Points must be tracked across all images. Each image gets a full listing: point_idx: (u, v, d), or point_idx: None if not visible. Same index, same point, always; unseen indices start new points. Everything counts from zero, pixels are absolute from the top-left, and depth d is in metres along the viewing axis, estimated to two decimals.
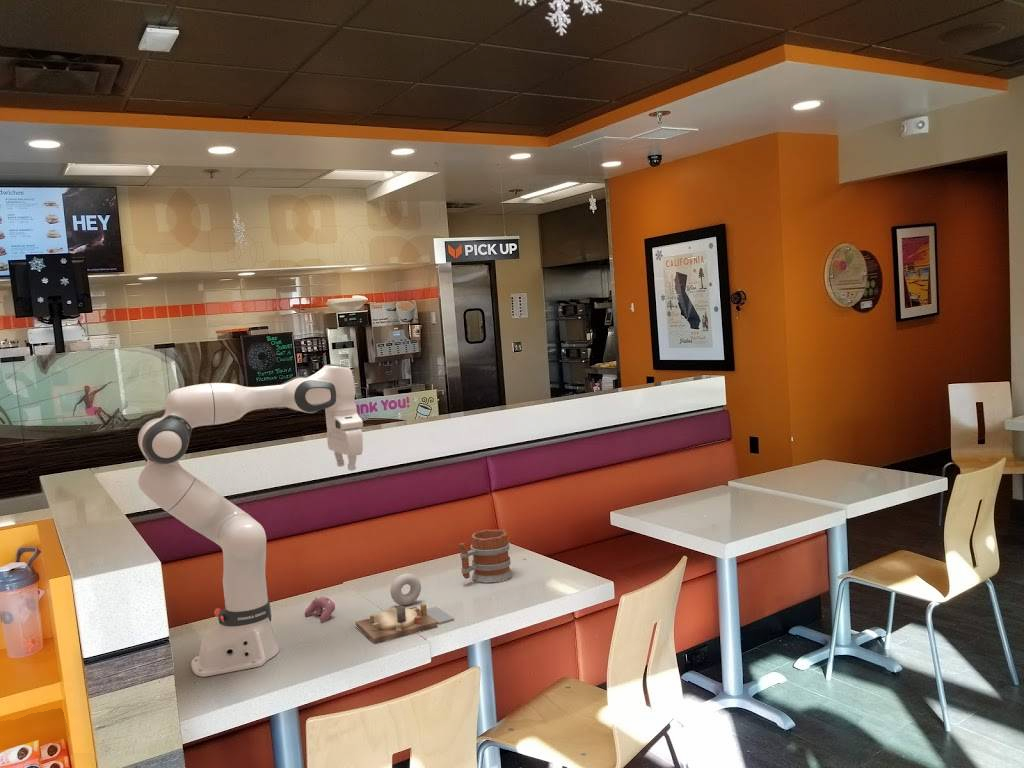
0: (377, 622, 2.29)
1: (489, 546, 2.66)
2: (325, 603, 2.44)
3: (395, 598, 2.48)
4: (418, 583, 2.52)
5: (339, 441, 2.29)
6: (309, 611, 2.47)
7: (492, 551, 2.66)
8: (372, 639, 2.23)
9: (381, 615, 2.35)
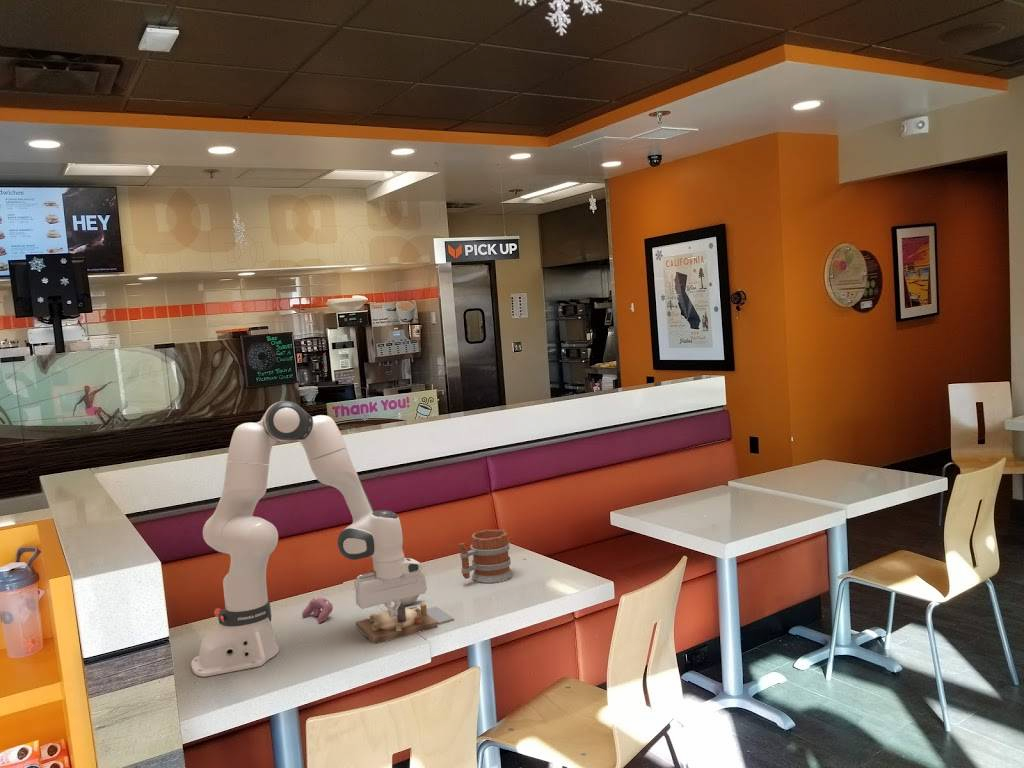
0: (377, 622, 2.29)
1: (489, 546, 2.66)
2: (323, 604, 2.44)
3: None
4: None
5: (397, 588, 2.26)
6: (307, 612, 2.47)
7: (492, 551, 2.66)
8: (372, 639, 2.23)
9: (381, 615, 2.35)
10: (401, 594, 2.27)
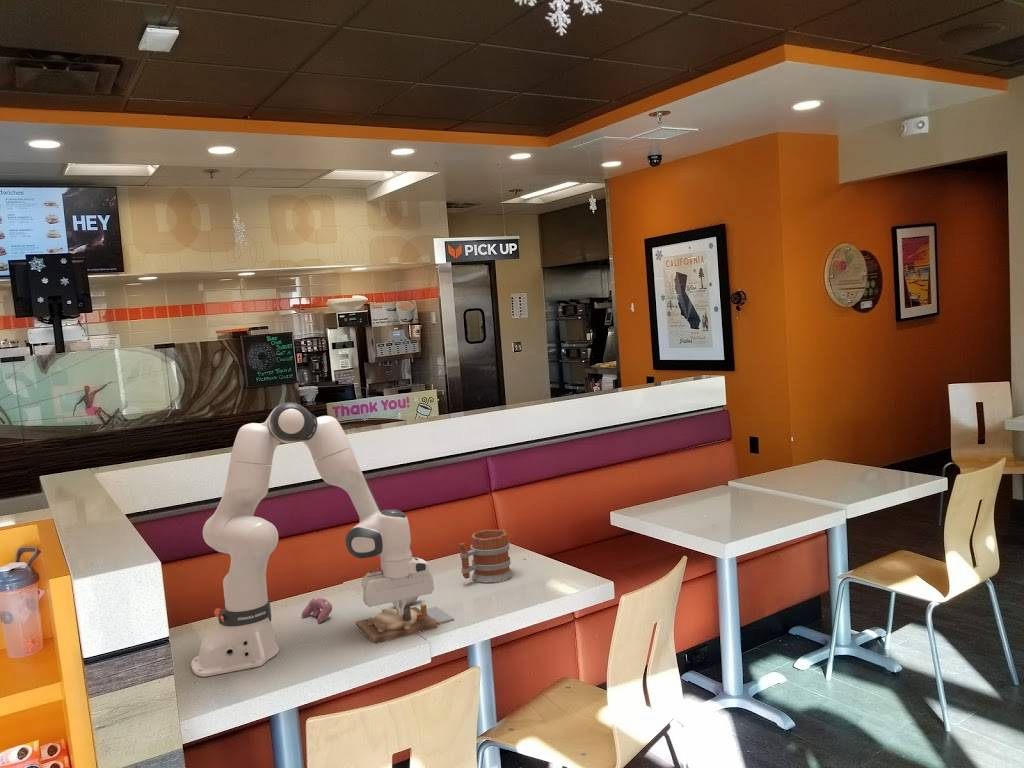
0: (382, 623, 2.28)
1: (489, 546, 2.66)
2: (322, 604, 2.43)
3: None
4: None
5: (404, 587, 2.27)
6: (306, 612, 2.47)
7: (492, 551, 2.66)
8: (372, 639, 2.23)
9: (379, 617, 2.33)
10: (408, 593, 2.28)
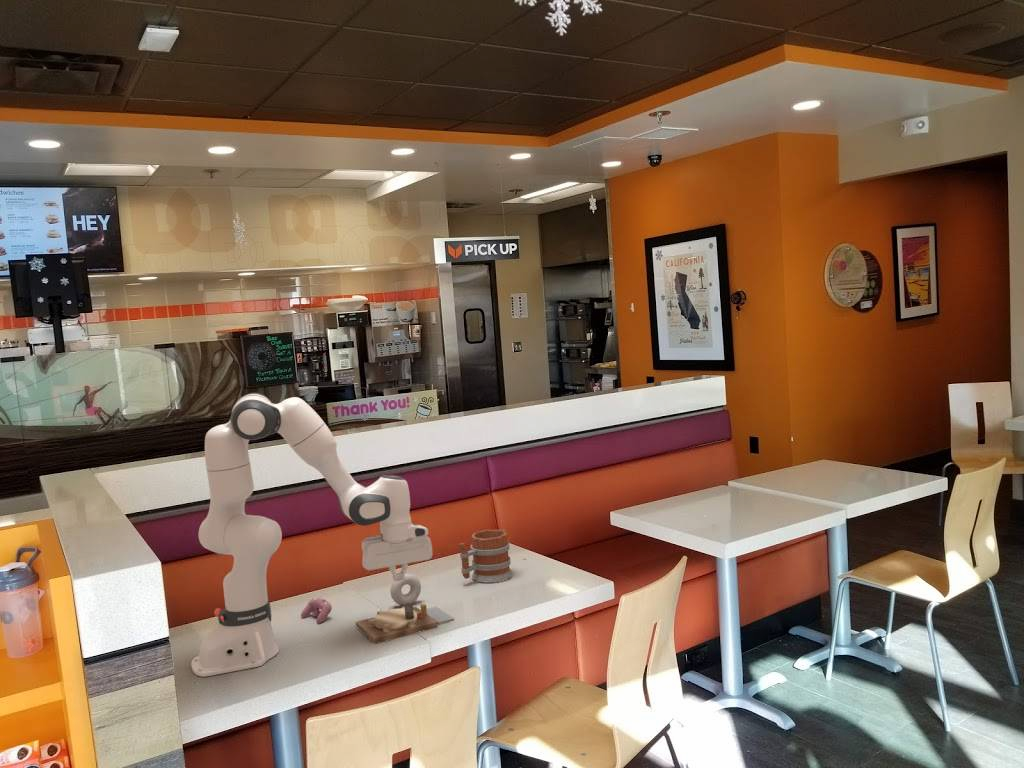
0: (386, 624, 2.27)
1: (489, 546, 2.66)
2: (322, 604, 2.43)
3: (395, 598, 2.48)
4: (418, 583, 2.52)
5: (403, 552, 2.28)
6: (305, 612, 2.46)
7: (492, 551, 2.66)
8: (372, 639, 2.23)
9: (379, 618, 2.32)
10: (407, 558, 2.29)
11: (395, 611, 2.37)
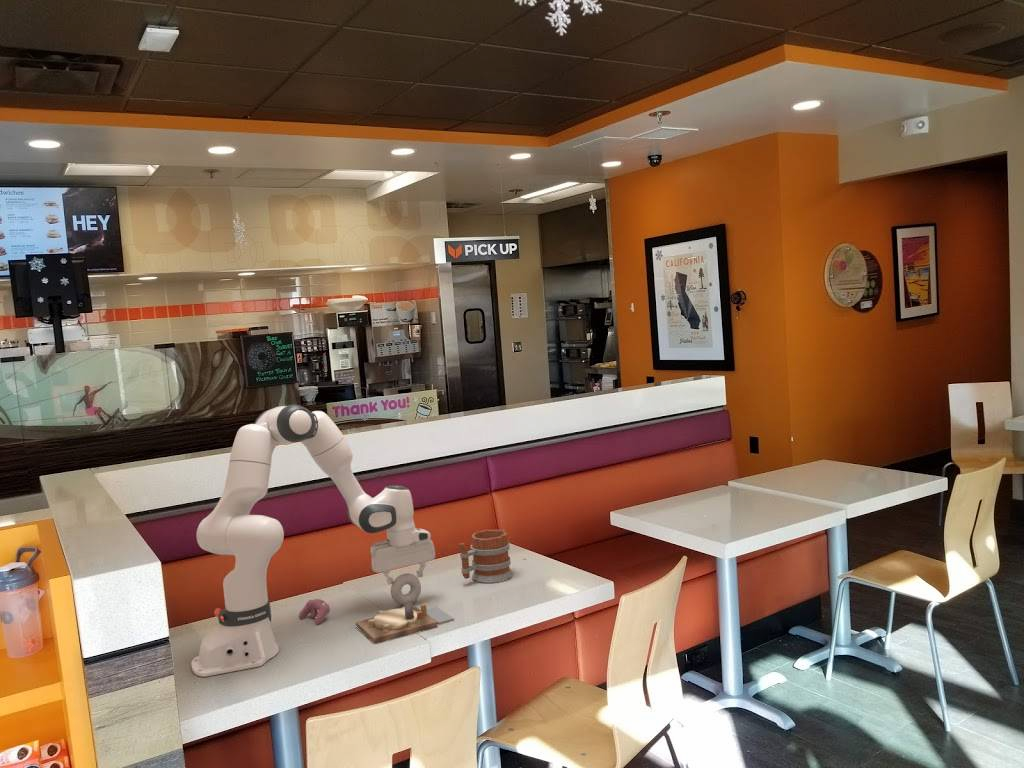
0: (386, 624, 2.27)
1: (489, 546, 2.66)
2: (319, 605, 2.43)
3: (395, 598, 2.48)
4: (418, 583, 2.52)
5: (408, 555, 2.50)
6: (303, 613, 2.46)
7: (492, 551, 2.66)
8: (372, 639, 2.23)
9: (379, 618, 2.32)
10: (412, 560, 2.50)
11: (395, 611, 2.37)
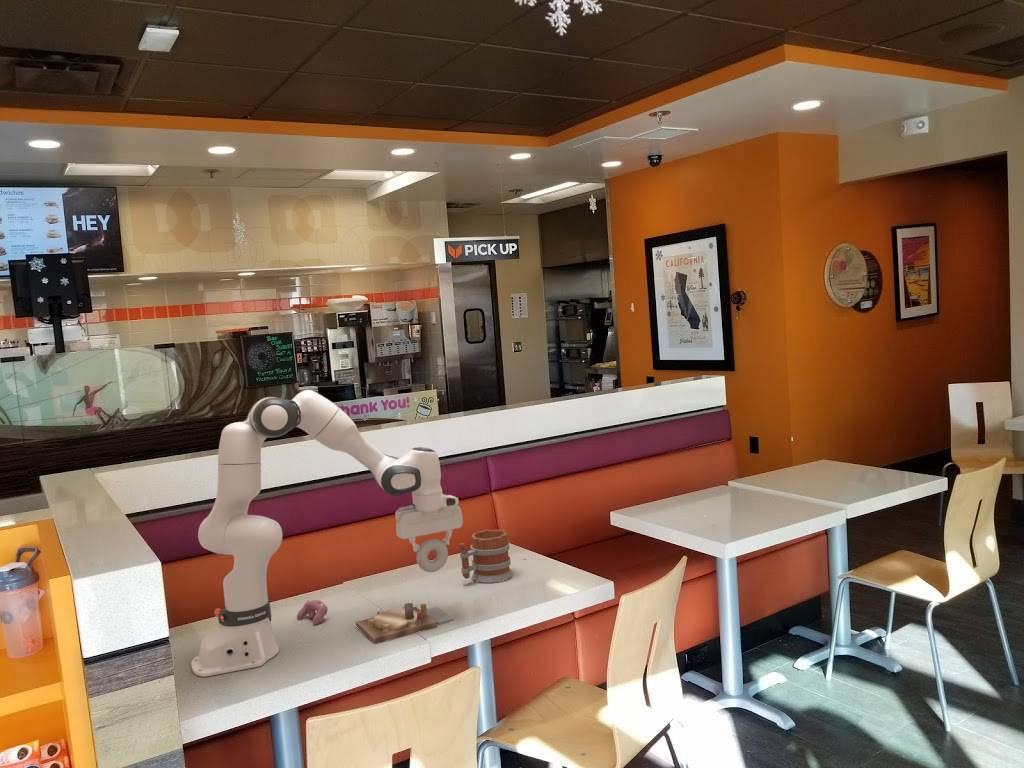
0: (386, 624, 2.27)
1: (489, 546, 2.66)
2: (317, 606, 2.42)
3: (421, 564, 2.35)
4: (445, 549, 2.39)
5: (435, 521, 2.37)
6: (301, 614, 2.45)
7: (492, 551, 2.66)
8: (372, 639, 2.23)
9: (379, 618, 2.32)
10: (439, 527, 2.37)
11: (395, 611, 2.37)
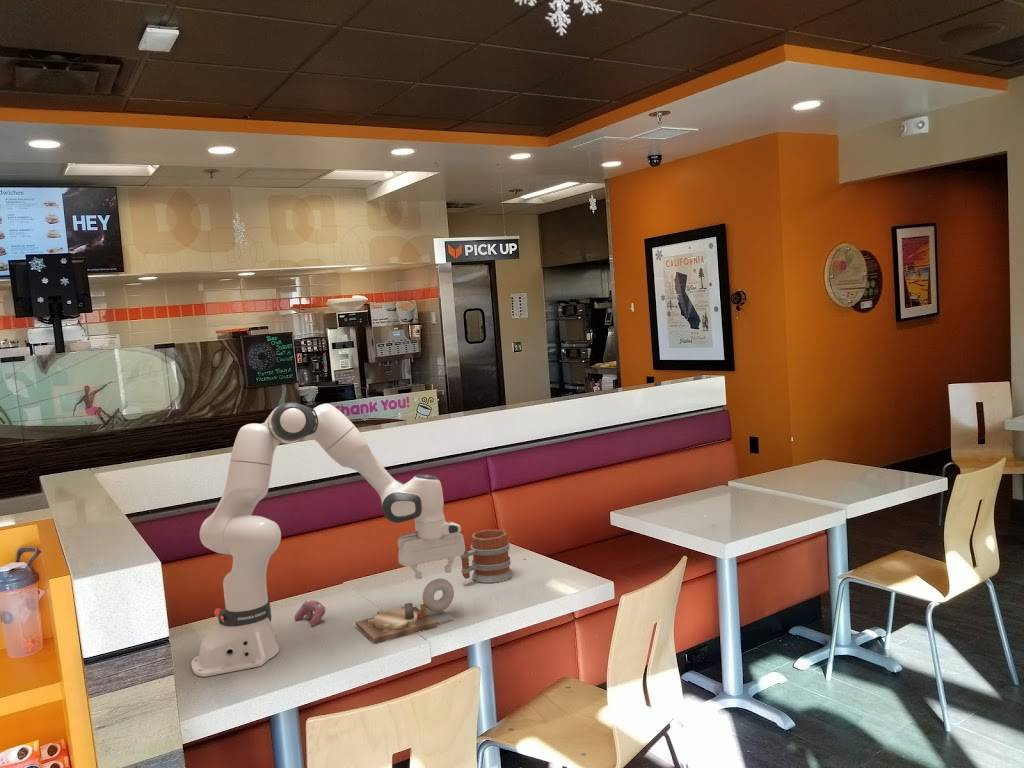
0: (386, 624, 2.27)
1: (489, 546, 2.66)
2: (315, 607, 2.41)
3: (426, 600, 2.36)
4: (452, 593, 2.40)
5: (437, 549, 2.37)
6: (299, 615, 2.45)
7: (492, 551, 2.66)
8: (372, 639, 2.23)
9: (379, 618, 2.32)
10: (441, 554, 2.37)
11: (395, 611, 2.37)
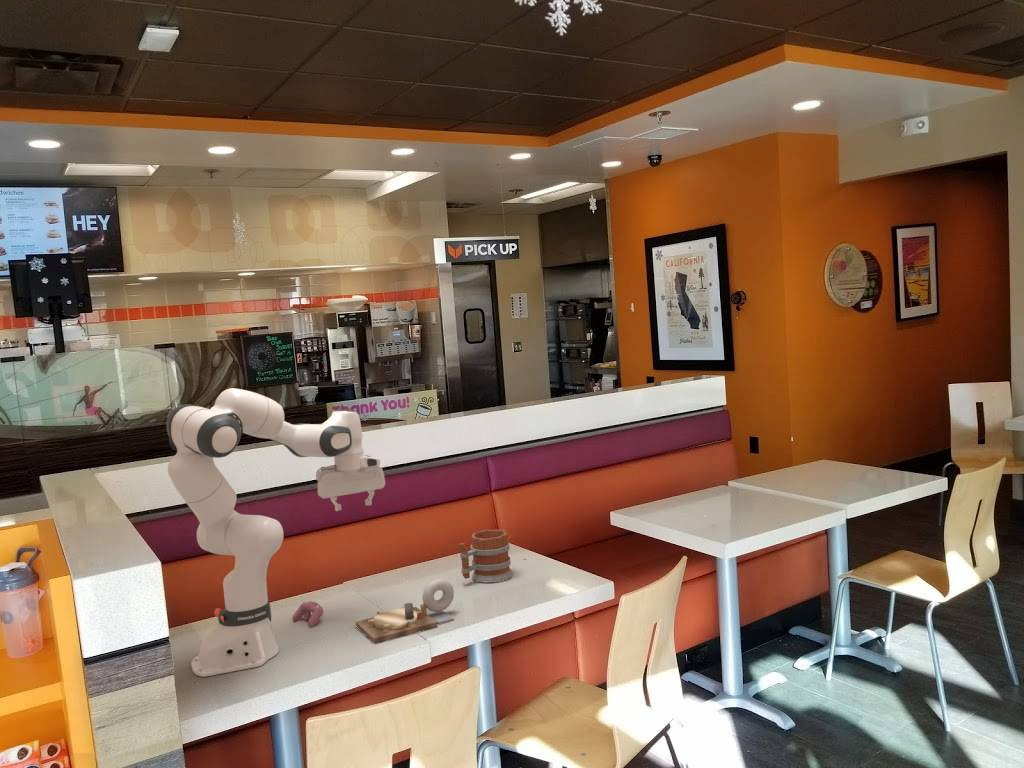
0: (386, 624, 2.27)
1: (489, 546, 2.66)
2: (313, 608, 2.41)
3: (426, 600, 2.36)
4: (452, 593, 2.40)
5: (356, 481, 2.42)
6: (297, 616, 2.44)
7: (492, 551, 2.66)
8: (372, 639, 2.23)
9: (379, 618, 2.32)
10: (360, 487, 2.42)
11: (395, 611, 2.37)
